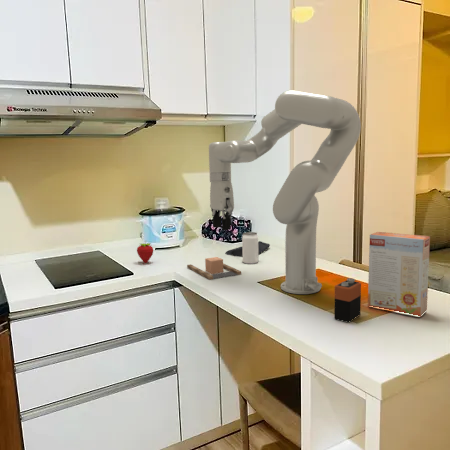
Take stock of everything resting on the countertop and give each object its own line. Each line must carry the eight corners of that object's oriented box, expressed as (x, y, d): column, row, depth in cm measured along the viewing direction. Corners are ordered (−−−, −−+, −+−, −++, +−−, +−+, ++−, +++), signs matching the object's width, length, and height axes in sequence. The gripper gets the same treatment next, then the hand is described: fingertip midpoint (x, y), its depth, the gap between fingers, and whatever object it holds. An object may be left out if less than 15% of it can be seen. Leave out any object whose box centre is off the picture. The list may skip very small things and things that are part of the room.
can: (258, 260, 174) (258, 231, 172) (258, 264, 168) (257, 234, 166) (243, 260, 175) (242, 231, 173) (242, 264, 168) (241, 234, 166)
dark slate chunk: (275, 249, 196) (275, 239, 195) (251, 259, 178) (251, 248, 177) (247, 246, 204) (247, 237, 203) (222, 255, 186) (221, 245, 186)
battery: (360, 315, 111) (361, 279, 109) (349, 323, 106) (349, 285, 104) (345, 311, 114) (346, 276, 112) (333, 319, 109) (334, 282, 107)
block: (223, 272, 157) (223, 259, 156) (211, 274, 155) (211, 261, 154) (217, 269, 161) (217, 256, 161) (205, 271, 159) (205, 258, 158)
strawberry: (144, 260, 179) (143, 237, 177) (157, 262, 174) (156, 239, 173) (134, 263, 174) (132, 239, 172) (147, 265, 170) (145, 241, 168)
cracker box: (427, 312, 111) (431, 235, 108) (420, 319, 107) (423, 239, 104) (375, 301, 121) (377, 230, 117) (366, 307, 116) (369, 233, 113)
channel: (241, 274, 153) (241, 271, 153) (209, 279, 147) (209, 276, 147) (216, 263, 171) (216, 260, 170) (187, 267, 165) (187, 264, 164)
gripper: (242, 178, 141) (243, 230, 143) (218, 176, 156) (220, 224, 158) (222, 179, 137) (223, 232, 140) (200, 177, 152) (202, 226, 155)
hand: (221, 228), depth 149 cm, fingers open, 6 cm apart
